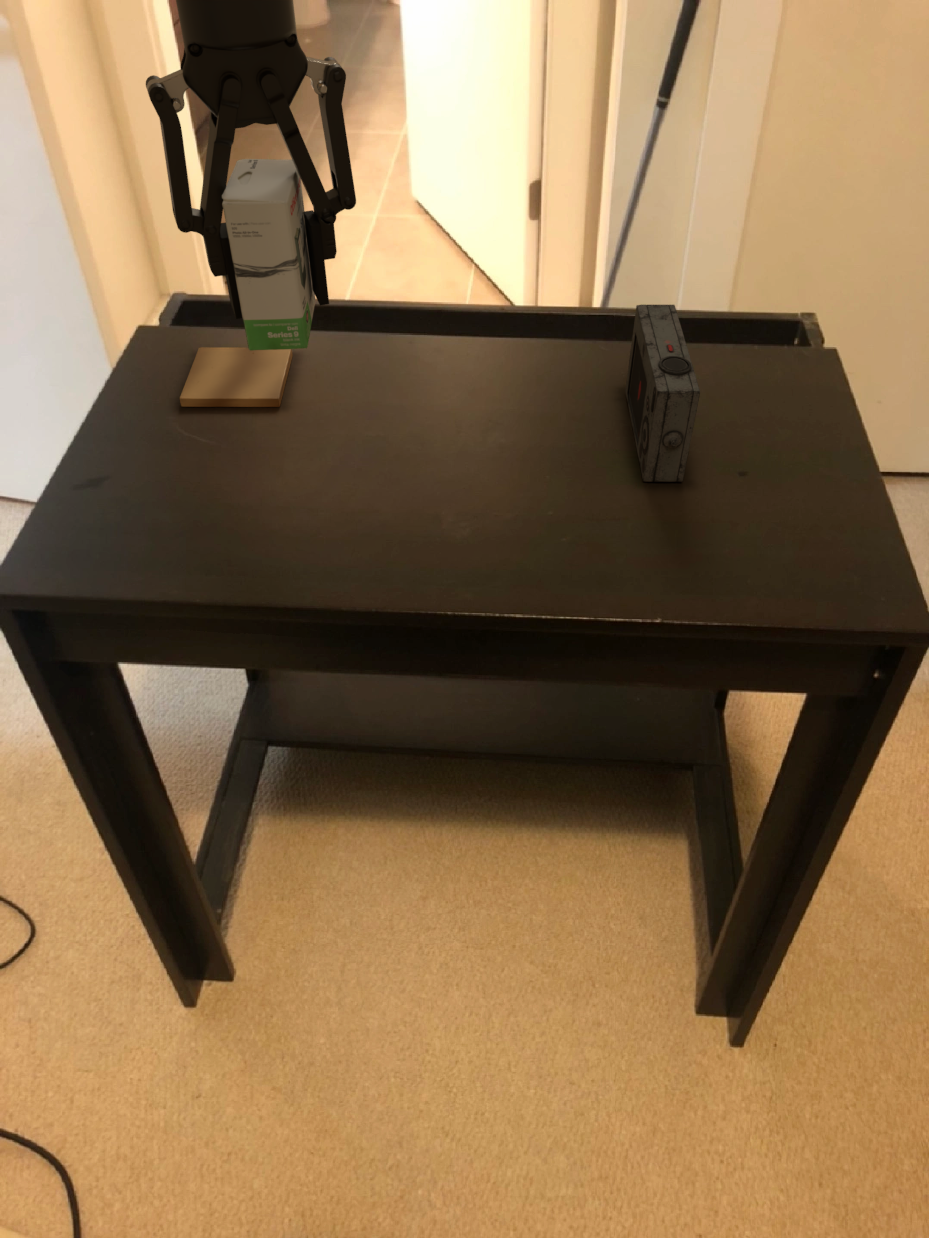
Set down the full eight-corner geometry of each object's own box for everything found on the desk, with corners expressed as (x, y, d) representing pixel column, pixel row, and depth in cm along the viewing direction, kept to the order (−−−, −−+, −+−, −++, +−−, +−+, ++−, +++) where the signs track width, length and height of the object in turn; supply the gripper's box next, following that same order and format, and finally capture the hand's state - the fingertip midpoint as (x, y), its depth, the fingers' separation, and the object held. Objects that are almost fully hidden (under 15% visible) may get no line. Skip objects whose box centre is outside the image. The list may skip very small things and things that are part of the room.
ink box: (308, 351, 78) (288, 201, 69) (245, 352, 78) (218, 202, 69) (317, 299, 84) (300, 155, 75) (259, 300, 84) (235, 156, 75)
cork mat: (181, 407, 99) (179, 398, 99) (200, 355, 106) (198, 347, 106) (279, 407, 99) (278, 398, 99) (292, 355, 106) (291, 347, 106)
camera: (686, 490, 90) (705, 395, 83) (643, 490, 90) (658, 395, 83) (661, 392, 101) (676, 301, 94) (623, 392, 101) (635, 301, 94)
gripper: (360, -57, 67) (381, 266, 84) (72, -34, 63) (154, 301, 80) (389, -32, 62) (406, 306, 79) (79, -5, 58) (165, 346, 75)
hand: (279, 303), depth 79 cm, fingers closed on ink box, 6 cm apart
